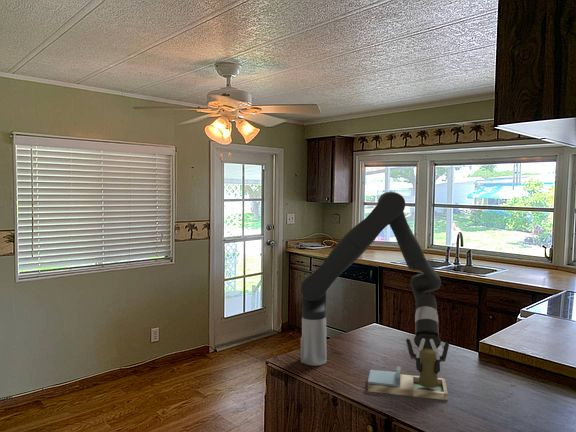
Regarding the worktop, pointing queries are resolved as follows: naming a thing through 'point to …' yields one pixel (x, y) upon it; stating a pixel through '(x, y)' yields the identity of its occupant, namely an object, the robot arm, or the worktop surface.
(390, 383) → the cover
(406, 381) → the board
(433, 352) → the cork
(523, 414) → the worktop surface
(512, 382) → the worktop surface
